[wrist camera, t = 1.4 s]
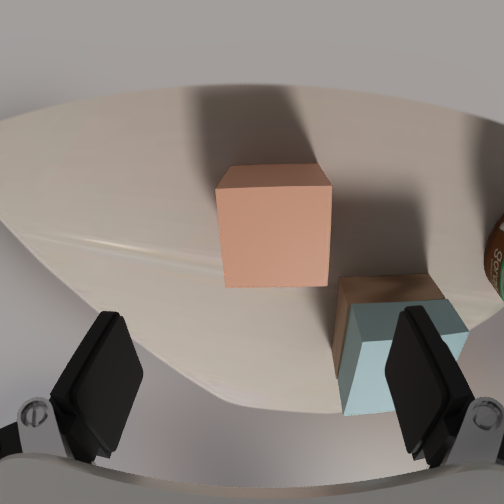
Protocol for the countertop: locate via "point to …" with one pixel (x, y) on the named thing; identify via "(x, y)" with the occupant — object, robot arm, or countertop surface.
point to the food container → (496, 257)
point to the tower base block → (376, 299)
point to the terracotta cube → (275, 225)
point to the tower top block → (384, 350)
